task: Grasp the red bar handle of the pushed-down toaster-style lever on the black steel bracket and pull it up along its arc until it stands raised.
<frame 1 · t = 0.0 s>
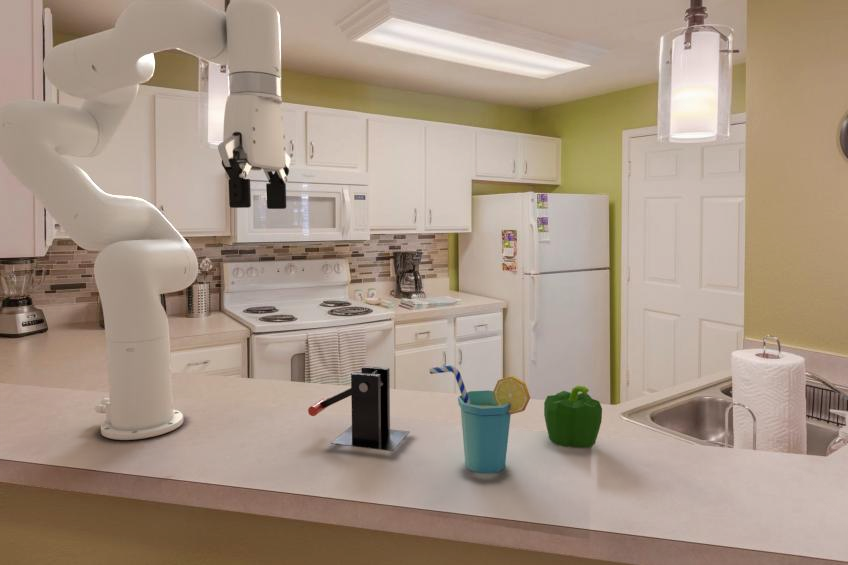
hand: (259, 208, 86), 37 cm above the worktop, tool pointing down, fingers open, 9 cm apart
bell pepper: (571, 447, 89), on the worktop
lever: (346, 393, 90), point 8 cm above the worktop, hinge at -28.0°
cup: (478, 473, 80), on the worktop
bracket: (371, 444, 90), on the worktop
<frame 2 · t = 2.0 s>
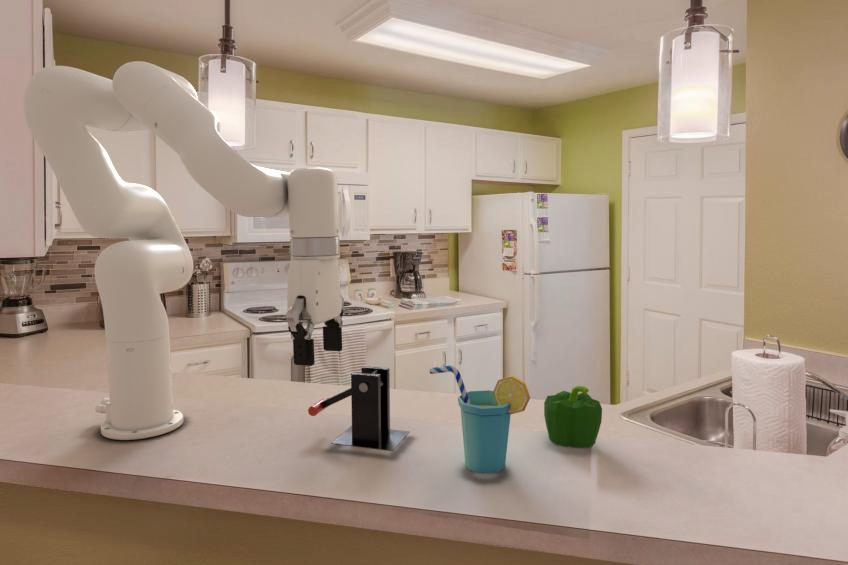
hand: (319, 357, 91), 13 cm above the worktop, tool pointing down, fingers open, 9 cm apart
nothing on the worktop moved.
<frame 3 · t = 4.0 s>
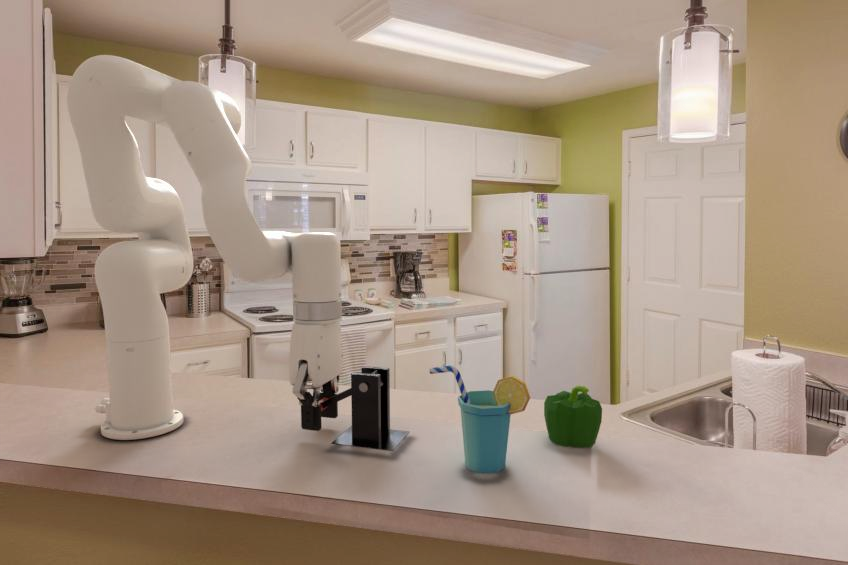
hand: (320, 421, 92), 3 cm above the worktop, tool pointing down, fingers closed on lever, 5 cm apart
lever: (346, 393, 90), point 8 cm above the worktop, hinge at -28.0°, touching gripper
everything else where it was.
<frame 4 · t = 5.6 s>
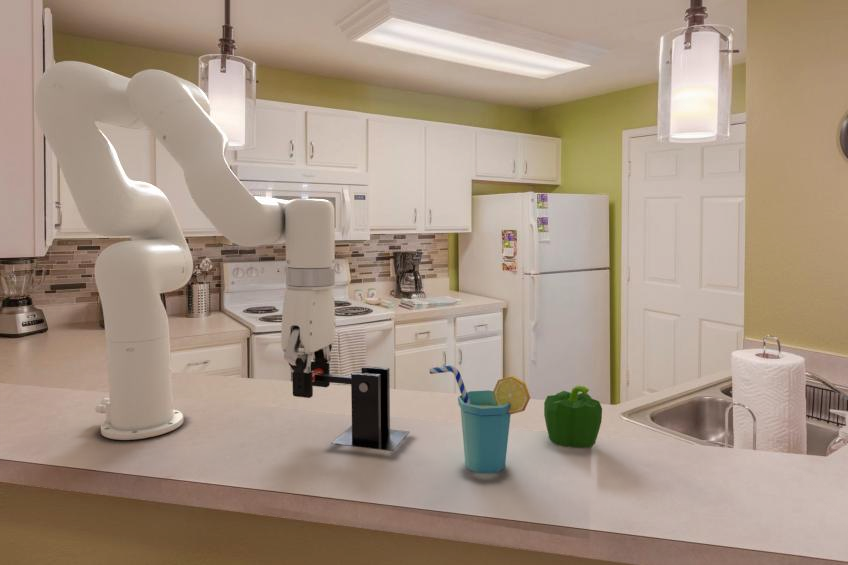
hand: (311, 390, 92), 8 cm above the worktop, tool pointing down, fingers closed on lever, 5 cm apart
lever: (342, 379, 90), point 10 cm above the worktop, hinge at 0.7°, touching gripper
everything else where it was.
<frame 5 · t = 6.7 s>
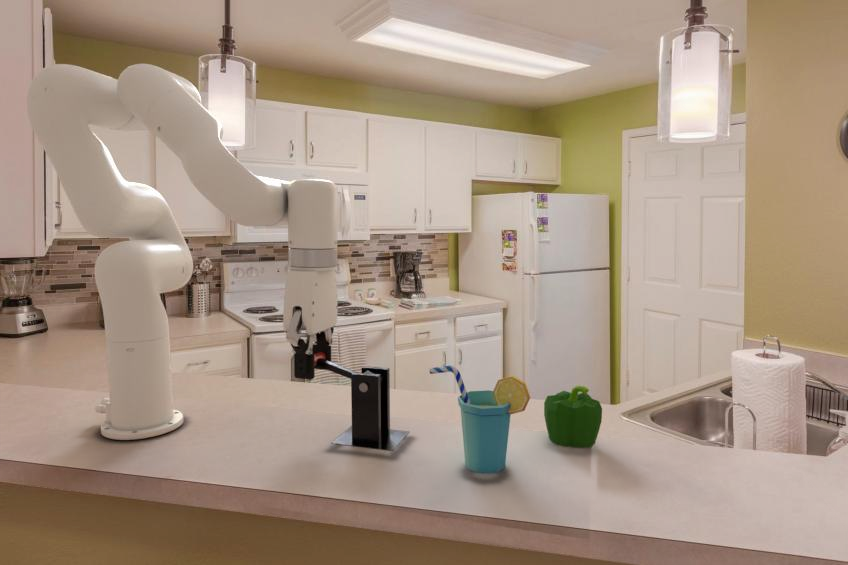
hand: (313, 372, 91), 11 cm above the worktop, tool pointing down, fingers closed on lever, 5 cm apart
lever: (343, 371, 90), point 11 cm above the worktop, hinge at 16.5°, touching gripper
everything else where it was.
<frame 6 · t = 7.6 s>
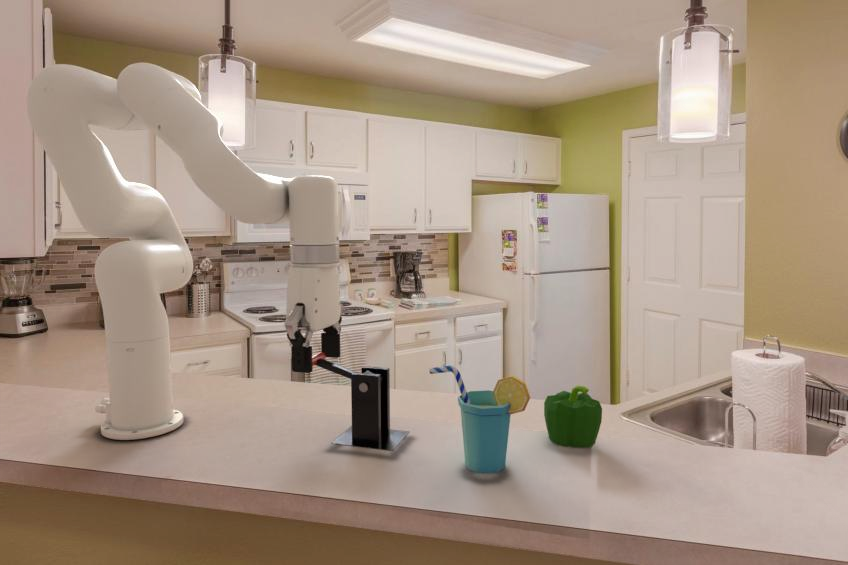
hand: (317, 364, 91), 12 cm above the worktop, tool pointing down, fingers open, 9 cm apart
lever: (343, 371, 90), point 11 cm above the worktop, hinge at 16.3°
everything else where it was.
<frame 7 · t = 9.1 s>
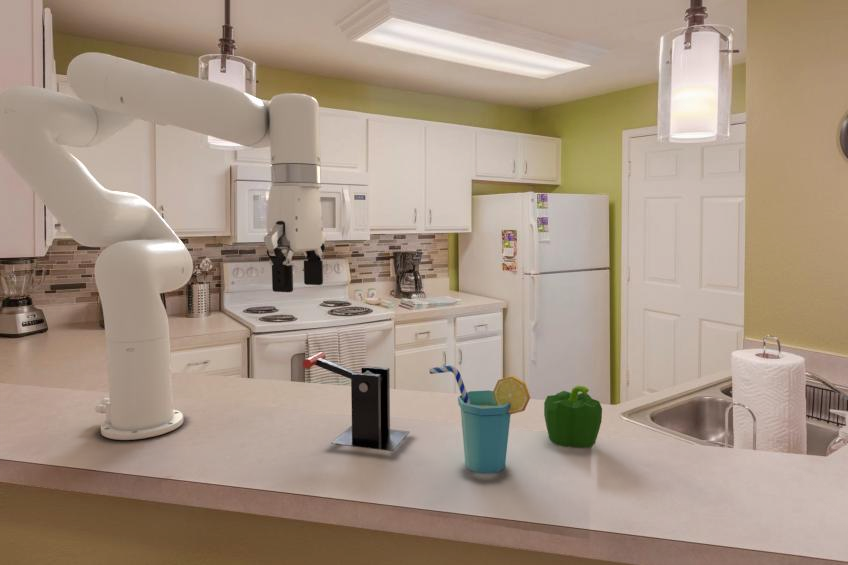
hand: (299, 288, 90), 24 cm above the worktop, tool pointing down, fingers open, 9 cm apart
nothing on the worktop moved.
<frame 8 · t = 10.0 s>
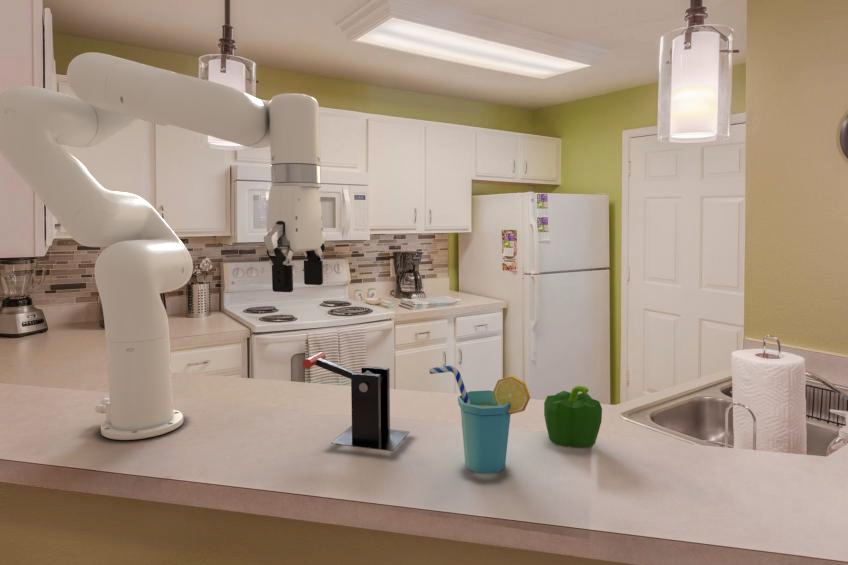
hand: (299, 287, 90), 24 cm above the worktop, tool pointing down, fingers open, 9 cm apart
nothing on the worktop moved.
at the end: lever at +16° (first picture: -28°); cup moved 0.2 cm from its start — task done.
